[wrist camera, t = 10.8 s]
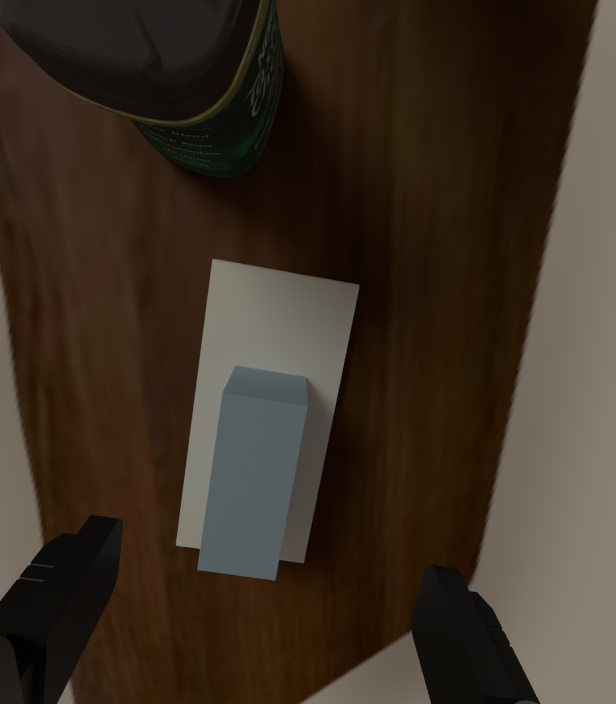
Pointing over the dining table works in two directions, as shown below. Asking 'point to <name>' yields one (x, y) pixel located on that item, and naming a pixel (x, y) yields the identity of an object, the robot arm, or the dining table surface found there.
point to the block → (253, 472)
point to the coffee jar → (166, 69)
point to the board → (272, 355)
